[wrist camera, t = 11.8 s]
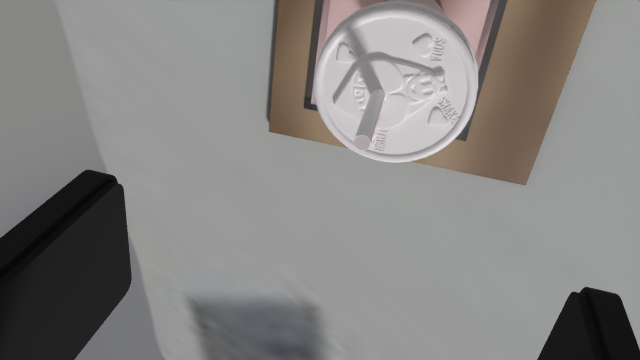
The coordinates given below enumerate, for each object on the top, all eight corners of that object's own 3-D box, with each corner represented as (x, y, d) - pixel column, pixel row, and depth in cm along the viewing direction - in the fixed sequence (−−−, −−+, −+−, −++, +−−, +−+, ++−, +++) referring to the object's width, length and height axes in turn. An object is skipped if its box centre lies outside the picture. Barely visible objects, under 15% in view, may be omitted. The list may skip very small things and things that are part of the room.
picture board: (637, -120, 24) (642, -120, 23) (524, 180, 32) (525, 186, 32) (294, -167, 26) (290, -168, 25) (271, 127, 34) (268, 132, 34)
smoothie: (338, -19, 28) (254, 64, 17) (462, -52, 26) (467, 15, 15) (366, 94, 31) (312, 233, 19) (481, 71, 29) (498, 212, 17)
